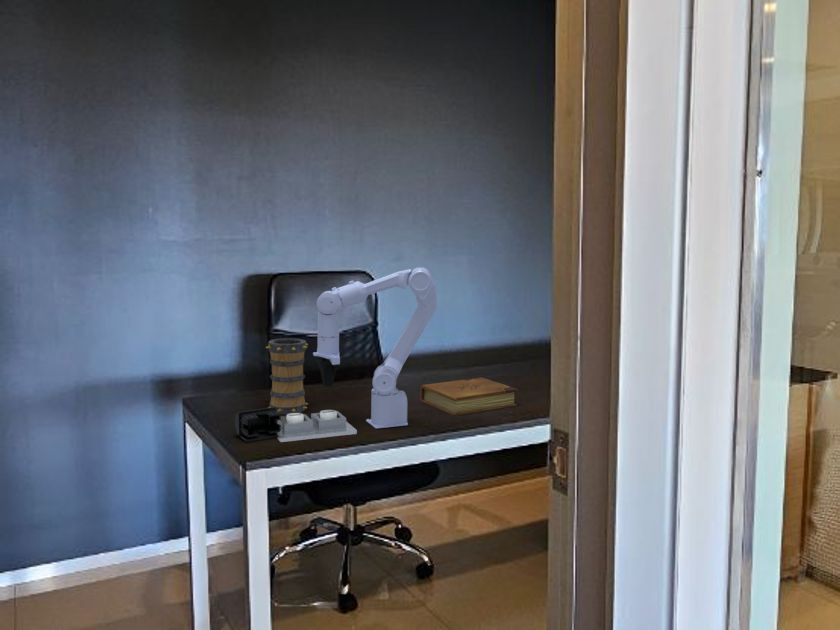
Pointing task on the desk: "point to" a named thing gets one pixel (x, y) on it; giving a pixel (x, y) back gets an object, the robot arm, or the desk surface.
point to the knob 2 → (328, 414)
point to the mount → (314, 428)
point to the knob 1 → (294, 417)
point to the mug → (287, 375)
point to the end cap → (257, 424)
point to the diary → (468, 395)
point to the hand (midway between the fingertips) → (327, 385)
